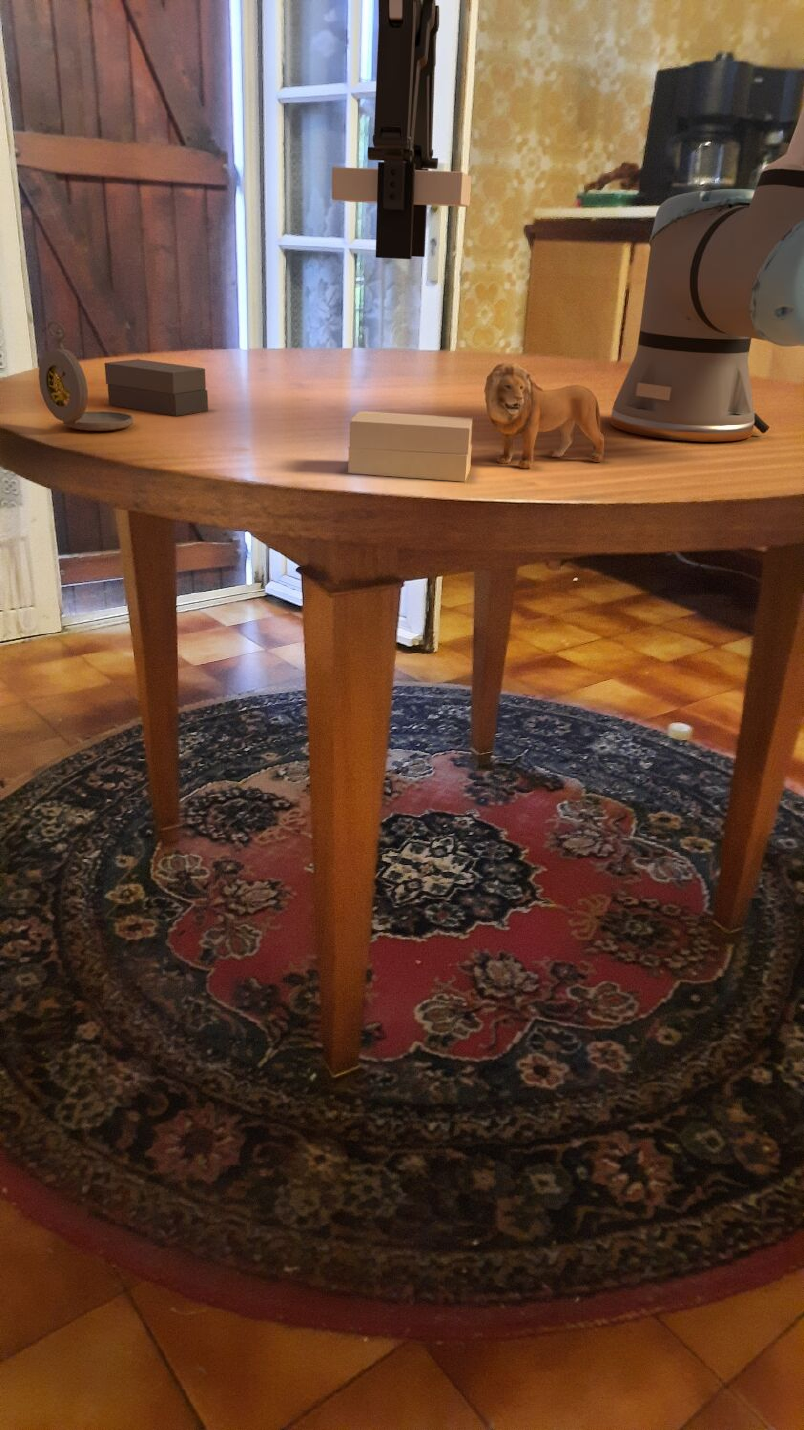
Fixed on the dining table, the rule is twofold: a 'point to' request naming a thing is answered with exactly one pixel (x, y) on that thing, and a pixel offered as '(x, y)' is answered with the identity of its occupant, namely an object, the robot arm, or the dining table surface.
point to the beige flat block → (427, 188)
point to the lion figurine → (539, 412)
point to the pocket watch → (72, 391)
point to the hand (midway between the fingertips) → (401, 256)
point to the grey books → (156, 387)
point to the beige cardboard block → (410, 446)
